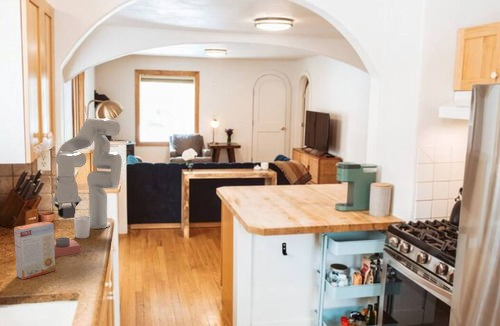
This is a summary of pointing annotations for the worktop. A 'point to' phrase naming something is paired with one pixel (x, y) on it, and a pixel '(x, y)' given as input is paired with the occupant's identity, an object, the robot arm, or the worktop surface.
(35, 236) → the cracker box
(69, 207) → the gray rectangular box
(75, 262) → the worktop surface
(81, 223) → the white cup
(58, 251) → the pink two-prong plug
